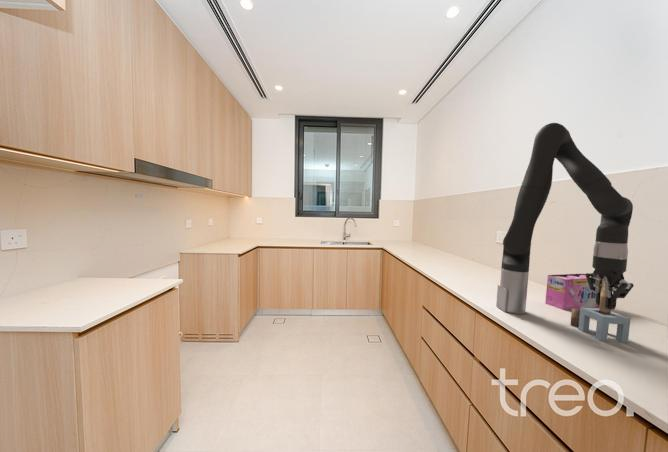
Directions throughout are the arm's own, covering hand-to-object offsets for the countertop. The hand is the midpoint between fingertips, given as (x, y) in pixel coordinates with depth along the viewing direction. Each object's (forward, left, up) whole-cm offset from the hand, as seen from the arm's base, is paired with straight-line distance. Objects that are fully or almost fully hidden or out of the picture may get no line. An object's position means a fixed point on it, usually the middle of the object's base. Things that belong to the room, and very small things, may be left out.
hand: (605, 306), depth 82 cm
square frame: (0, 0, -10) cm, 10 cm away
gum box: (+16, +30, -10) cm, 36 cm away
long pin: (0, 0, -3) cm, 3 cm away
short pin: (-3, +7, -10) cm, 13 cm away
